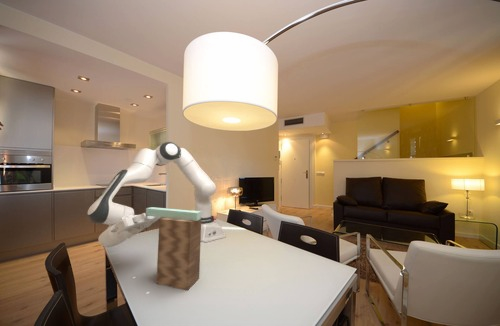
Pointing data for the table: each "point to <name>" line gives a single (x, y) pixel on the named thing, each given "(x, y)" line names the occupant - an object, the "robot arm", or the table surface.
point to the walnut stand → (178, 252)
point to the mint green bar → (174, 213)
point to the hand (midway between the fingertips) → (154, 212)
